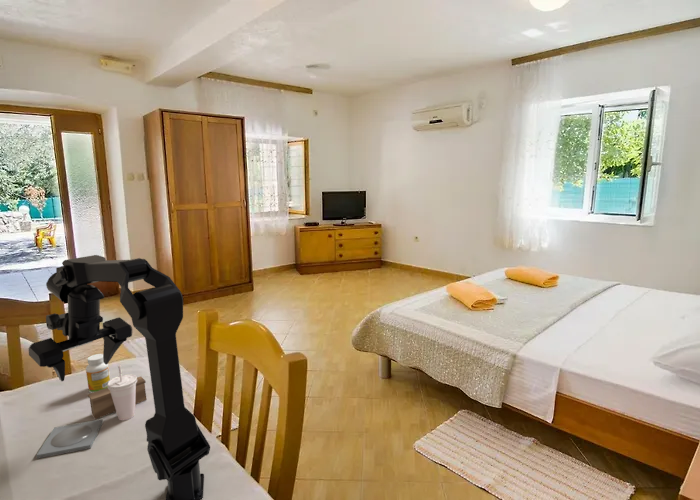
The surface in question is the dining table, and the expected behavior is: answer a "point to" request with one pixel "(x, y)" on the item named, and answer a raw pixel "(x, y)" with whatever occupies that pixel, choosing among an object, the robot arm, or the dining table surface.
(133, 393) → the smoothie
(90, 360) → the supplement bottle
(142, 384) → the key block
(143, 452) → the dining table surface
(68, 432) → the coaster
